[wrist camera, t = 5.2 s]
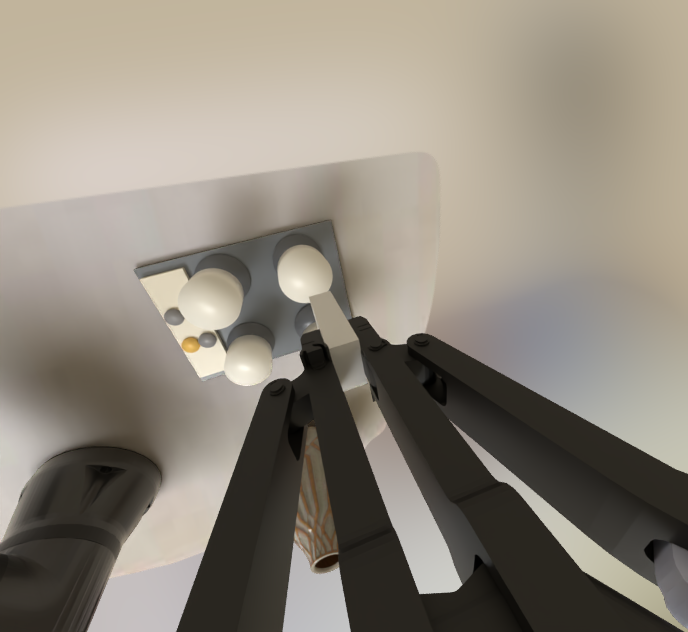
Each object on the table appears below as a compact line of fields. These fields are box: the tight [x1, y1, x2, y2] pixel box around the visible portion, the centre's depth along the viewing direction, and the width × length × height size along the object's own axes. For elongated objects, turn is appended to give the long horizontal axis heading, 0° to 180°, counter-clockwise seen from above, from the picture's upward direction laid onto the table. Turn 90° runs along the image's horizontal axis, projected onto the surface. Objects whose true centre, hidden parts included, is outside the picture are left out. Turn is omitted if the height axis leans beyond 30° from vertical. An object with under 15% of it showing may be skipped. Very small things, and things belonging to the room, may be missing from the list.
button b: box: [178, 268, 244, 330], centre depth 25 cm, size 5×5×5 cm
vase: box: [294, 426, 339, 574], centre depth 38 cm, size 13×13×18 cm
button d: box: [277, 245, 333, 303], centre depth 27 cm, size 5×5×5 cm
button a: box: [224, 335, 272, 386], centre depth 31 cm, size 5×5×5 cm
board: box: [134, 220, 352, 381], centre depth 32 cm, size 22×16×2 cm
